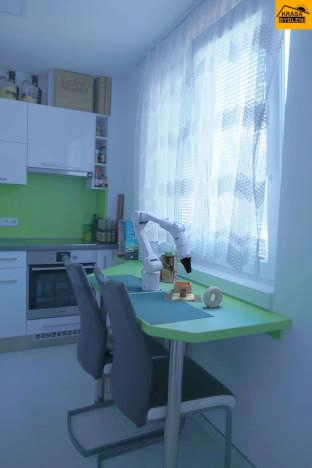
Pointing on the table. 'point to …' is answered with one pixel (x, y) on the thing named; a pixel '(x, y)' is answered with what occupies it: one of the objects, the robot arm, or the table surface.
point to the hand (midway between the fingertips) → (189, 272)
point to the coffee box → (168, 268)
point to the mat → (169, 297)
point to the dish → (182, 284)
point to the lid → (182, 296)
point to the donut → (216, 300)
